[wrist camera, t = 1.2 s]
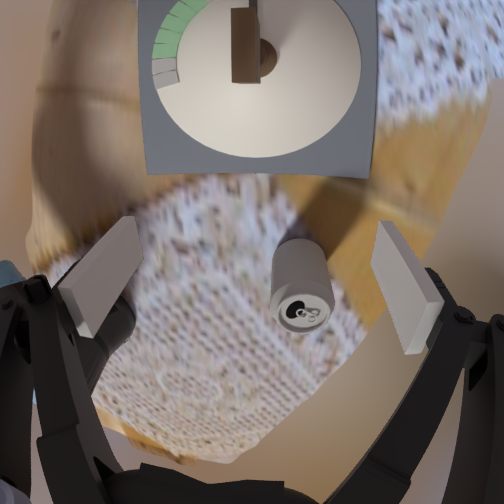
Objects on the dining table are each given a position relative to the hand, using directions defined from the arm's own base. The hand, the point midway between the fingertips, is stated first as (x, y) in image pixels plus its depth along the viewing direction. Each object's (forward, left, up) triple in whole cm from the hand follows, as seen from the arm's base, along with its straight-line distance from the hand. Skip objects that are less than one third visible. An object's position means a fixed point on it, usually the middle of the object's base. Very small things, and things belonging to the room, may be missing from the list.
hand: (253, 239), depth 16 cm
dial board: (-1, +11, -23) cm, 26 cm away
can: (+5, -15, -23) cm, 28 cm away
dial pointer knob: (-1, +16, -21) cm, 27 cm away
